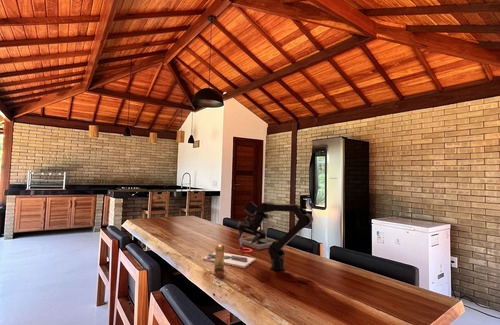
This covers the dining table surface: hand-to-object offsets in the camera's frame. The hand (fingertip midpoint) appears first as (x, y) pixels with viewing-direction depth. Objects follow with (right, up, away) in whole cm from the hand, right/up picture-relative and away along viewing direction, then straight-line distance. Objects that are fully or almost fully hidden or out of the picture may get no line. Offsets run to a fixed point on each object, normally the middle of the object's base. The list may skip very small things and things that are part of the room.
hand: (244, 240), depth 164 cm
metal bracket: (+10, -14, +42) cm, 46 cm away
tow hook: (0, -14, +23) cm, 27 cm away
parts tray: (+10, -15, +42) cm, 46 cm away
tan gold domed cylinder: (-14, -12, -14) cm, 23 cm away
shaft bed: (-9, -12, +2) cm, 16 cm away
